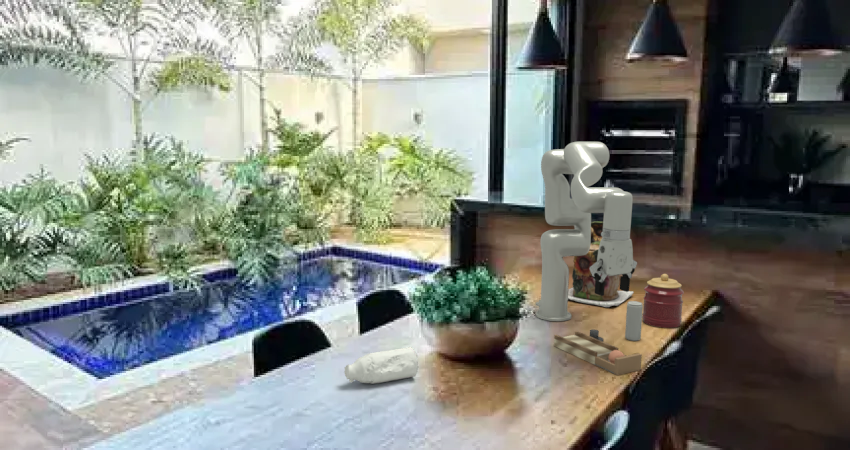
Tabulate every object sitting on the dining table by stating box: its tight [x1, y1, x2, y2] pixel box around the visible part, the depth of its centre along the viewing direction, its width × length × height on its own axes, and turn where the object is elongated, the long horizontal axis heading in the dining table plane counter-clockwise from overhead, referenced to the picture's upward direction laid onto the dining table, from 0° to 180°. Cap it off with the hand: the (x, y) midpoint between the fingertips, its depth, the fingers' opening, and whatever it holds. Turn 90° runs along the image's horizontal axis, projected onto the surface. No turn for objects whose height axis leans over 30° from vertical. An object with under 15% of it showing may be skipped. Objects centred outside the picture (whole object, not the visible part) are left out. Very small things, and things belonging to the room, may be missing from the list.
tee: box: [589, 328, 604, 342], centre depth 207 cm, size 6×6×3 cm
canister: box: [642, 273, 685, 329], centre depth 225 cm, size 13×13×18 cm
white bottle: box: [343, 346, 419, 385], centre depth 171 cm, size 8×19×8 cm, turn 116°
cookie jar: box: [568, 221, 634, 308], centre depth 257 cm, size 25×25×32 cm
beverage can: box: [624, 300, 644, 342], centre depth 208 cm, size 5×5×12 cm
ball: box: [609, 349, 625, 364], centre depth 184 cm, size 4×4×4 cm
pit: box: [594, 352, 643, 376], centre depth 183 cm, size 9×9×4 cm
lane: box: [553, 330, 619, 366], centre depth 195 cm, size 18×9×4 cm, turn 28°
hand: (611, 292), depth 187 cm, fingers open, 9 cm apart
